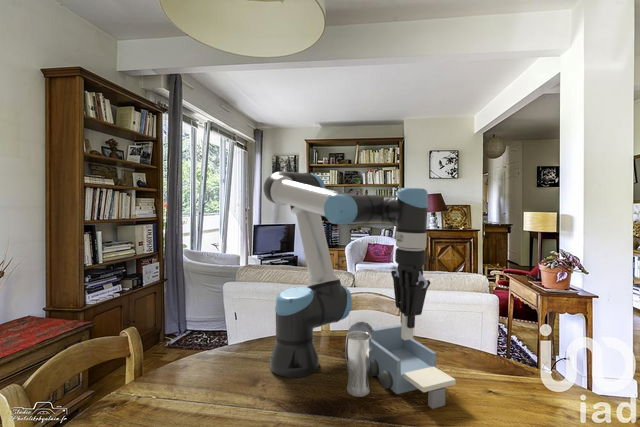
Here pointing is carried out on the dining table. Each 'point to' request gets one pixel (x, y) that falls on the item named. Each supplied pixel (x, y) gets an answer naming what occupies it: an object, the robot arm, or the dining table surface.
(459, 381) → the dining table surface
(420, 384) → the tailgate
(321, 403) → the dining table surface
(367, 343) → the beer glass
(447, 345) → the dining table surface
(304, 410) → the dining table surface
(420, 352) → the trailer
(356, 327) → the canned food
